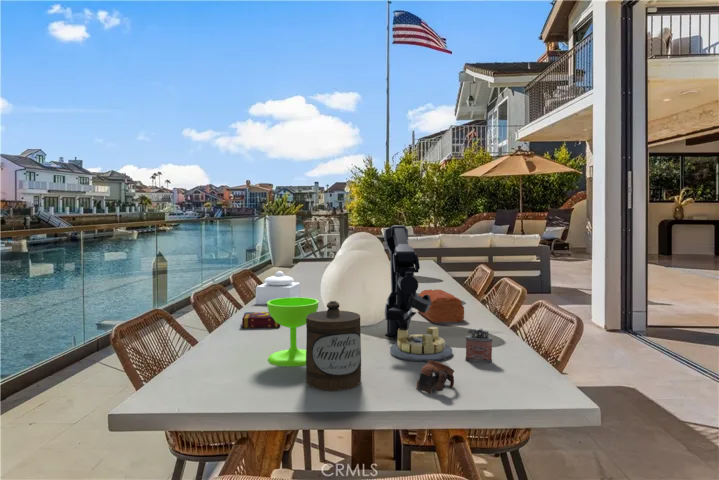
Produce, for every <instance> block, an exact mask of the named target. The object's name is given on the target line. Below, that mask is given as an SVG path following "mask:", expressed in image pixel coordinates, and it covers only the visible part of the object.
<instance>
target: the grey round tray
mask: <svg viewBox="0 0 719 480" xmlns="http://www.w3.org/2000/svg"><path fill="white" fill-rule="evenodd" d="M410 342H413V343H421V344H422V338H412V339H410ZM389 350H390V351H389V354H390V355H391V356H392V357H394V358H396V359H399V360H403V361H408V362H418V363H419V362H420V363H428V360H432V361H436V362H440V361H445V360H448V359H449V358H451V357H452V356H453V348H452V347H451V346H450V345H447V344H445V349H444V351H441V352H438V353H433V354H423V353H422V354H415V353H408V352H404V351H402V350H400V349H398V348H397V342H395V343H394V344H392V345H390V347H389Z"/></svg>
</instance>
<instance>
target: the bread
mask: <svg viewBox="0 0 719 480" xmlns="http://www.w3.org/2000/svg"><path fill="white" fill-rule="evenodd" d="M426 294H427V295H429V296H430V300H431V305H430V307H429V310H428V311H426V313H422V312H420V311H419V310H417V312H418V313H419V314H421V315H422V316H423V317H424V318H426V319H428V321H430V322H432V323H434V322H438V323H437V324H441V323H440V322H457V323H461V322H460V321H464V319H465V307H464V306H463V301H462V300H461V299H460V298H458V297H457V296H455V295H453V294H451V293H449V292H447V291H445V290H442V289H434V290H433V289H424V290H422V291H420V293H419V294H418V296H422V297H423V296H424V295H426Z"/></svg>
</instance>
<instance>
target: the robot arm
mask: <svg viewBox="0 0 719 480" xmlns="http://www.w3.org/2000/svg"><path fill="white" fill-rule="evenodd" d="M383 236H384V237H383V238H384V239H383V240H384V242H385V248H386V249H387V250H388V252H389V253H390V290H391V291H390V294H389V295H388V297H387V299H386V303H385V306H384V319H385V320H386V332H385V333H384V336H387V337H395V338H398V329H399V328H400V329H408V330H409V329H410V324H411V321H412V318H413V317H414V316H415V315H417V311H418V310H419V311H420V312H422V313H426V311H428V310H429V307H430V305H431V300H430V296H429V295H427V294H426V295H424V296H423V297H422V296H419V295H417V291H418V288H419V281H418V279H417V278H416V277H415V275H414V274H415V273H419V271H420V267H421V266H420V260H419V257H418V254H417V253H416V252H415V249H414V248H413V247H412V246H410V245H409V229H408V228H407V227H406V226H405V225H401V224H399V225H397V224H395V225H391V227H388V228H387V229H385V230H384V232H383ZM414 309H415V310H417V311H416V312H415V311H413V310H414ZM420 312H419V313H420Z"/></svg>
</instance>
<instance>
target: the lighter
mask: <svg viewBox="0 0 719 480" xmlns="http://www.w3.org/2000/svg"><path fill="white" fill-rule="evenodd" d="M467 334H471V335H465V360H464V361H465V362H470V363H475V364H477V363H478V364H492V363H493V358H492V356H493V355H492V353H493V352H492V351H493V347H492V346H493V343H492V342H493V337H491V336H489V330H484V329H483V328H479V329H475V328H468V329H467Z"/></svg>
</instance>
